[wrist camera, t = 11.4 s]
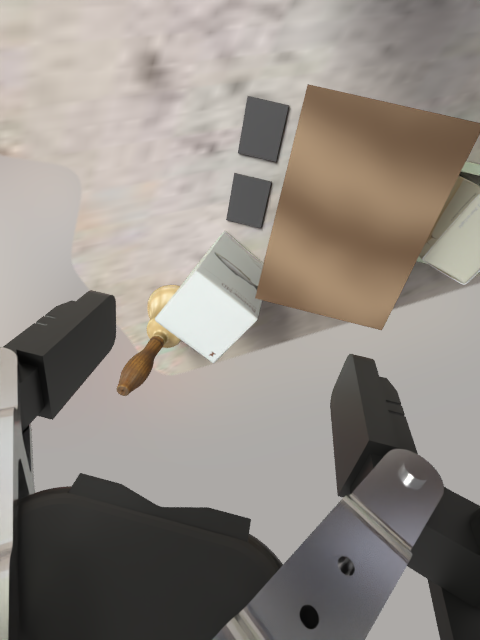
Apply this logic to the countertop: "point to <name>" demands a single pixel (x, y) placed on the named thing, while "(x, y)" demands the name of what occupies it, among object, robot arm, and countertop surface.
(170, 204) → the countertop surface
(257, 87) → the countertop surface
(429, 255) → the skincare box
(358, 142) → the brown hollow box
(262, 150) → the pair of grey pads
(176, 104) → the countertop surface
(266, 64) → the countertop surface
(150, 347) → the hand bell
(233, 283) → the supplement box
